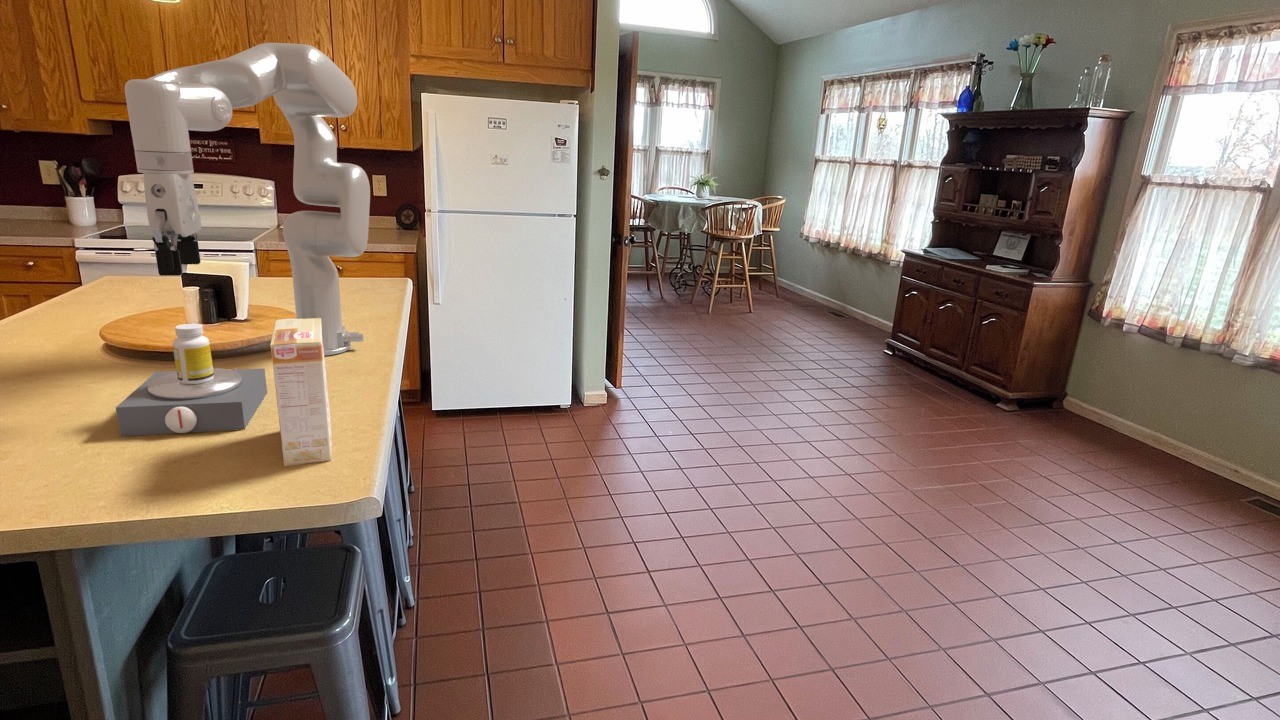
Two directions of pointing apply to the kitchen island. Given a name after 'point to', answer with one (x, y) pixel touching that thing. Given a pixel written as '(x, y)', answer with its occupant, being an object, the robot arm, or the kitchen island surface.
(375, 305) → the kitchen island surface
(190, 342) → the supplement bottle
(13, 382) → the kitchen island surface
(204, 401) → the scale base
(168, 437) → the kitchen island surface
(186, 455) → the kitchen island surface
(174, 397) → the scale pan
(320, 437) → the coffeecake box
